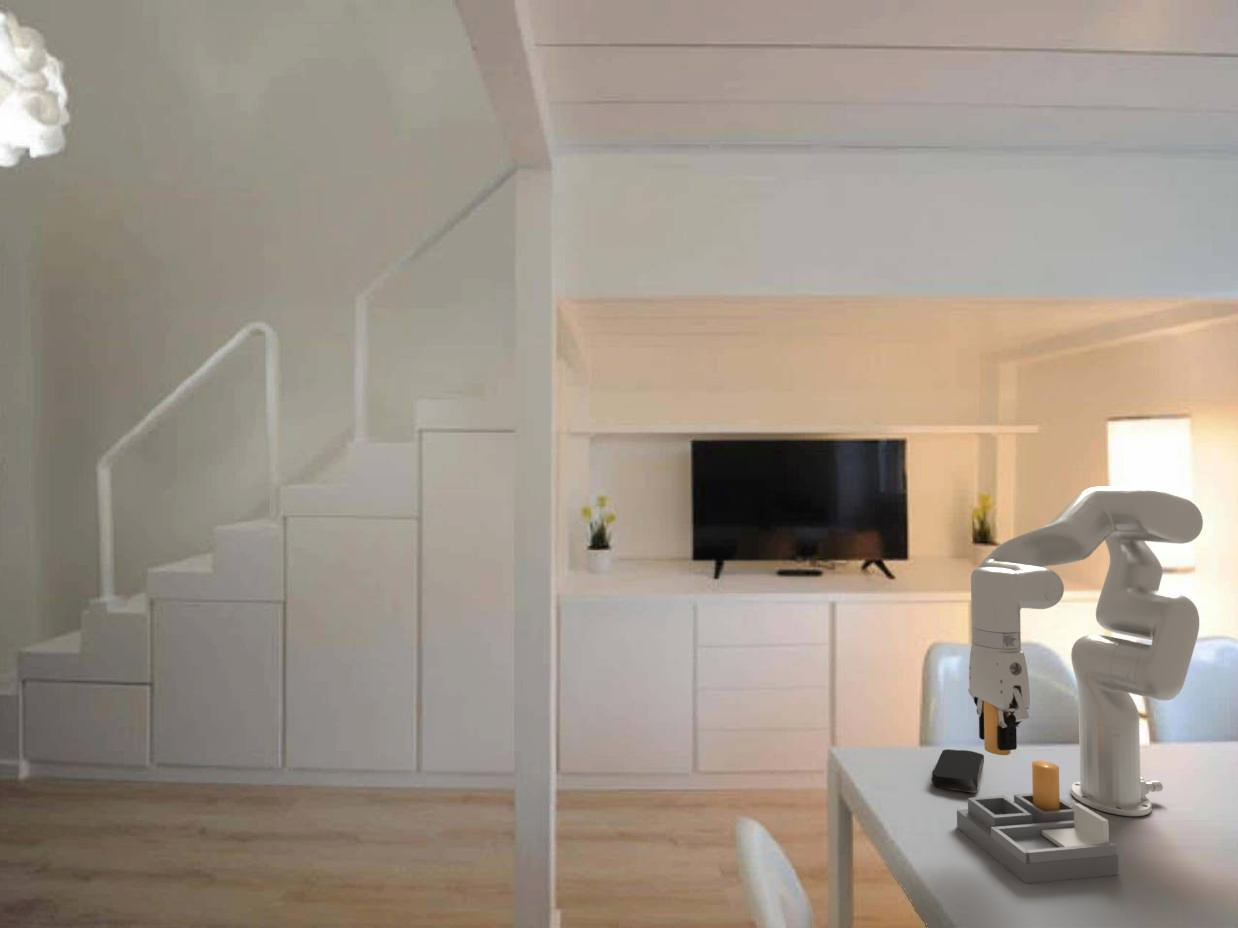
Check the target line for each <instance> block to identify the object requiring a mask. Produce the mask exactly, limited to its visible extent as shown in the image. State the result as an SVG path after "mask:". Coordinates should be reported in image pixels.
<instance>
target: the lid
mask: <svg viewBox="0 0 1238 928" xmlns="http://www.w3.org/2000/svg"><path fill="white" fill-rule="evenodd" d="M1073 807H1074V828H1064V829H1052V830H1042V835H1043V836H1045V837H1046V838H1047V839H1049V840H1050V841H1052V842H1053V843H1055V844H1056V845H1057V846H1059V847H1069V846H1081V845H1092V844H1103V843H1110V836H1109V835H1110V831H1109V830H1110V827H1109V820H1108V819H1107V818H1105V817H1103V816H1101V815H1100V814H1098V813H1097V812H1094V810H1091V809H1090V808H1088V807H1087V806H1086V805H1085V806H1084V804H1081V802H1079V803H1078V802H1077V803H1073Z"/></svg>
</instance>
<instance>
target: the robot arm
mask: <svg viewBox="0 0 1238 928" xmlns="http://www.w3.org/2000/svg"><path fill="white" fill-rule="evenodd" d="M1203 524H1204V520H1203V515H1202V513H1201V511H1200V509H1199V507H1198V506H1197V505H1196V504H1195V503H1193V501H1191V500H1189V499H1187V498H1184V497H1180V496H1178V495H1174V494H1171V493H1168V492H1164V491H1162V490H1158V489H1155V488H1154V489H1153V488H1148V487H1141V486H1094V487H1093V486H1092V487H1090V488H1086V489H1085V490H1082V491H1081V492H1080V493H1079V494H1078V495H1077V496H1076V497H1075V498H1074V499H1072V500H1071V502H1069V503H1068V504H1067V506H1065V507H1064V509H1063V510H1062V511H1060V512H1059V514H1058V515H1056V516H1055V517H1054V518H1053V520H1051V521H1050V522H1049V523H1048V524H1047V525H1044V526H1041V527H1038V528H1036V529H1033V530H1031V531H1028V532H1026V533H1023V534H1021V535H1018V536H1016V537H1013V538H1010V539H1009V540H1006V541H1004V542H1003V543H1001V544H999V545H998V546H997V547H996V548H994V550H992V552H990V553H989V554H988V555H987V556H986V557H985V558H984V559H983V560H982V562H981V563H980V564H979V566H978V567H976V568H975V569H973V570H972V572H971V574H970V595H971V596H970V604H971V605H970V606H971V607H970V608H971V612H970V613H971V645H970V646H971V647H970V652H969V664H968V683H969V684H968V685H969V688H968V690H967V691H968V693H969V695H970V696H971V698H972V699H973V702H974V705H975V707H976V714H977V716H978V736H979V739H980V740H982V741H983V740H984V701H987V702H988V703H990V704H991V705H993V706H995V707H997V708H998V715H999V722H1000V726H997V747H998V749H999V750H1011V751H1013V750H1014V751H1015V750H1017V748H1018V746H1017V743H1018V742H1017V740H1018V739H1017V728H1019V726H1020V724H1021V722H1023V721H1025V720H1028V719H1029V718H1030V715H1029V712H1028V710H1029V709H1030V707H1031V695H1030V694H1031V693H1030V681H1029V680H1030V679H1029V673H1028V666H1027V662H1026V656H1025V653H1024V651H1022V638H1021V636H1022V635H1021V633H1022V632H1021V610H1022V609H1030V610H1033V609H1034V610H1046V609H1049V608H1052V607H1055V606H1056V605H1057V604H1058V603H1059V602H1060V601H1061V600H1062V598H1063V595H1064V592H1065V590H1064V589H1065V586H1064V583H1063V579H1062V578H1061V577H1060V575H1059V574H1057V572H1055V571H1053V570H1052V569H1049V568H1047V567H1050V566H1051V567H1052V566H1054V567H1055V566H1059V565H1067V564H1071V563H1072V564H1073V563H1076V562H1080V561H1084V560H1086V559H1088V558H1090V556H1091V555H1092V554H1093V553H1094V552H1095V551H1096V550H1097V548H1098V547H1099V546H1101V544H1102V543H1103V542H1105V544H1106V547H1107V549H1108V553H1109V566H1108V569H1107V572H1106V573H1107V574H1106V576H1105V578H1104V583H1103V585H1102V589H1101V592H1100V594H1099V597H1098V601H1097V605H1096V609H1095V619H1096V621H1097V623H1098V625H1099V626H1100V627H1101V628H1103V629H1104V630H1107V631H1109V632H1111V633H1115V634H1119V635H1124V636H1128V637H1133V638H1139V639H1143V640H1146V641H1147V640H1148V641H1151V644H1147V643H1142V642H1139V641H1138V642H1136V641H1133V640H1132V641H1131V640H1128V639H1125V638H1124V639H1123V638H1118V637H1114V636H1110V635H1109V636H1108V635H1102V634H1088V635H1084V636H1081V637H1080V638H1078V639H1077V640H1076V641H1075V642H1074V643H1073V646H1072V648H1071V655H1070V657H1071V665H1072V669H1073V674H1074V677H1075V681H1076V688H1077V695H1078V696H1077V697H1078V698H1077V699H1078V732H1079V733H1078V737H1079V742H1078V743H1079V744H1078V745H1079V780H1078V781H1075V782H1074V783H1072V784H1071V786H1070V792H1071V796H1073V797H1074V798H1075V799H1076V800H1077V801H1079V803H1082V805H1085V806H1086V807H1090V808H1092V809H1095V810H1097V811H1101V812H1105V813H1106V814H1107V813H1109V814H1112V815H1118V816H1125V817H1141V816H1142V817H1143V816H1146V815H1149V814H1150V813H1151V812H1152V810H1153V809H1152V806H1153V805H1152V802H1151V801H1150V800H1149V798H1148V797H1146V795H1148V794H1149V793H1150V792H1151V793H1152V792H1153V793H1154V792H1162V791H1163V789H1164V788H1163V787H1164V786H1163V784H1162V783H1161V781H1159V780H1158V779H1157V780H1147V781H1145V780H1144V778H1143V777H1142V776H1141V747H1140V746H1141V745H1140V743H1141V741H1140V738H1141V737H1140V736H1141V735H1140V725H1141V724H1140V714H1139V709H1138V707H1137V705H1136V703H1135V701H1134V699H1133V698H1132V696H1131V694H1133V695H1135V696H1140V697H1143V698H1147V699H1148V698H1149V699H1152V700H1157V701H1163V702H1164V701H1170V700H1174V699H1175V698H1176V697H1178V696H1179V694H1180V693H1181V691H1182V689H1183V687H1184V684H1185V681H1186V678H1187V675H1188V671H1189V668H1190V664H1191V661H1192V657H1193V654H1194V652H1195V651H1194V650H1195V646H1196V643H1197V640H1198V637H1199V631H1200V616H1199V615H1200V614H1199V611H1198V608H1197V606H1196V605H1195V603H1194V602H1193V601H1192V600H1191V599H1190V598H1188V597H1187V596H1185V595H1182V594H1181V593H1180V594H1179V593H1175V592H1171V591H1170V592H1169V591H1162V590H1159V589H1160V586H1161V581H1162V577H1163V572H1164V571H1163V567H1162V564H1161V562H1160V560H1159V559H1158V557H1157V556H1156V554H1155V553H1154V552H1153V551H1152V550H1151V548H1150V546H1149V545H1148V544H1147V543H1146V542H1155V543H1166V544H1188V543H1190V542H1193V541H1194V540H1195V539H1197V538H1198V537H1199V536H1200V534H1201V532H1202V530H1203V526H1204V525H1203ZM1009 704H1010V707H1009ZM1005 712H1010V715H1009V716H1008V717H1007V718H1006V713H1005Z"/></svg>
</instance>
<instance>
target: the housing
mask: <svg viewBox="0 0 1238 928" xmlns="http://www.w3.org/2000/svg"><path fill="white" fill-rule="evenodd" d="M1031 768H1032V769H1031V771H1032V772H1031V773H1032V774H1031V778H1032V779H1031V780H1032V782H1031V783H1032V792H1031V793H1019V794H1013V800H1011V798H1008V797H1007V796H1005V795H989V796H976V797H967V808H966V809H957V810H956V827H957V828H958V829H959V830H960V831H962V832H963V834H965V835H966V836H968V838H969V839H972V841H974V842H975V843H976V844H978V846H980V847H981V848H982V849H984V850H985V851H986V853H988V854H989V855H990V856H992V857H993V858H994V859H995V860H997V861H998V862H999V863H1000V864H1002V865H1003V866H1004V867H1005V868H1007V869H1008V870H1009V871H1010V872H1011V873H1013V874H1014V876H1016V877H1018V879H1020V880H1021V881H1022V882H1023V883H1025V884H1033V883H1035V884H1036V883H1045V882H1047V883H1048V882H1055V881H1057V882H1058V881H1063V880H1064V881H1067V880H1068V881H1069V880H1076V879H1077V880H1078V879H1086V878H1087V879H1088V878H1099V877H1100V878H1101V877H1108V876H1119V855H1118V854H1117V845H1116V844H1115V843H1114V842H1109V843H1103V844H1092V845H1081V846H1069V847H1059V846H1057V845H1056V844H1055V843H1053V842H1052V841H1050V840H1049V839H1047V838H1046V837H1045V836H1043V835H1042V830H1052V829H1064V828H1074V805H1071V804H1070V803H1068V802H1067V801H1065V800H1064V799H1061V798H1060V768H1059V766H1058V765H1057V764H1055V763H1053V762H1051V761H1046V760H1033V761H1032V762H1031Z"/></svg>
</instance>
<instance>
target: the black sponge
mask: <svg viewBox="0 0 1238 928" xmlns="http://www.w3.org/2000/svg"><path fill="white" fill-rule="evenodd" d="M984 764H985V756H984V754H982V753H979V752H976V751H973V750H964V749H963V750H961V749H960V750H959V749H958V750H957V749H949V748H947V749H943V750H942V751H941V753H940V756H939V758H938V759H937V762H936V765H935V767H934V769H933V770H932V773H931V774H932V776H931V783H932V784H933V786H934V787H935V788H939V789H947V790H952V791H958V792H959V791H960V792H966V793H977V792H978V791H979V786H980V782H981V779H982V775H983V770H984Z"/></svg>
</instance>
